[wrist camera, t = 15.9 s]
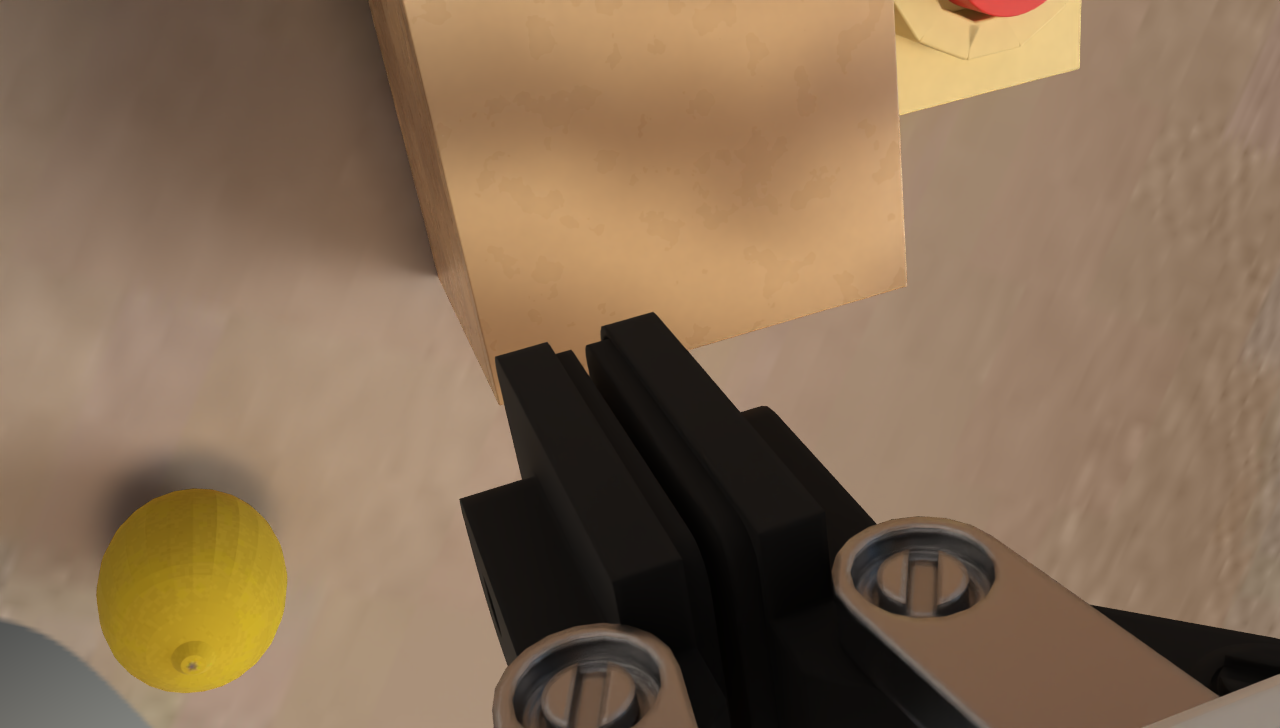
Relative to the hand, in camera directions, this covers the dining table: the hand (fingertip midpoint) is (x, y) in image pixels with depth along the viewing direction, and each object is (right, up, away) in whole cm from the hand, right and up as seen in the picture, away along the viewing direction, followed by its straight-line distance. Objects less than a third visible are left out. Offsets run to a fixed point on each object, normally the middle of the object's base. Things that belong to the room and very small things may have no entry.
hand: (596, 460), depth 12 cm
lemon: (-15, -4, +29) cm, 32 cm away
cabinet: (-2, +11, +26) cm, 28 cm away
